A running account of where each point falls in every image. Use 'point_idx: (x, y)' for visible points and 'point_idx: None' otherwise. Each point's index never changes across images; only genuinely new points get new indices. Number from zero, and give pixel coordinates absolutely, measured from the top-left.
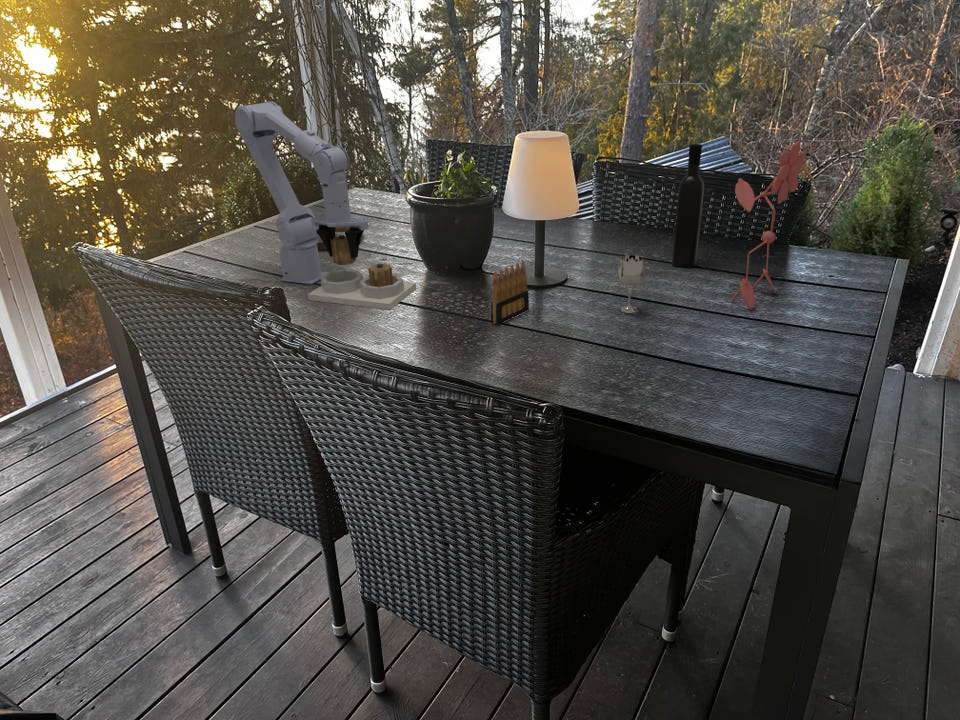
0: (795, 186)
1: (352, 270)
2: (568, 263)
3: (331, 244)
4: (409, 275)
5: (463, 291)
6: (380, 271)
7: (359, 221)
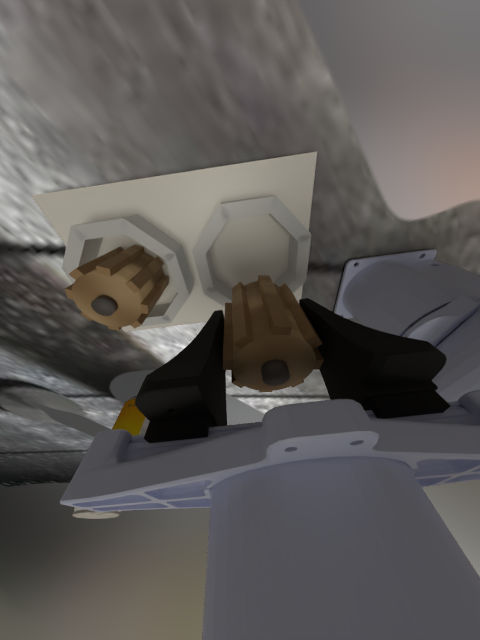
0: None
1: None
2: (60, 432)
3: (306, 323)
4: None
5: (53, 342)
6: (72, 276)
7: (127, 499)
